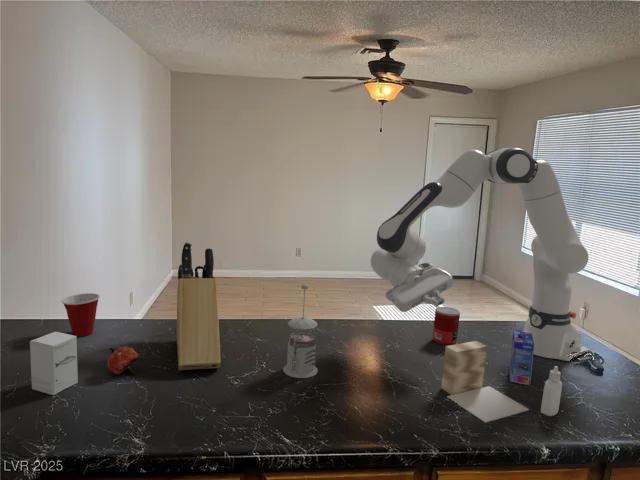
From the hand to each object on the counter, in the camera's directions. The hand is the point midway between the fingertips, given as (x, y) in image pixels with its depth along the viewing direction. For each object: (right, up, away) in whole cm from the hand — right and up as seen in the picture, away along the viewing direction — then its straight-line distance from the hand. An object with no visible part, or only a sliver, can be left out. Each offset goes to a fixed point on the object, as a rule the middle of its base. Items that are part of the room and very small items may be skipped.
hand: (440, 302), depth 139 cm
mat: (+8, -24, -16) cm, 29 cm away
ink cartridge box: (+23, -22, +1) cm, 31 cm away
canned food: (+7, -16, +25) cm, 31 cm away
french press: (-41, -19, -4) cm, 45 cm away
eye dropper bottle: (+23, -25, -18) cm, 38 cm away
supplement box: (-100, -18, -19) cm, 104 cm away
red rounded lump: (-87, -17, -10) cm, 89 cm away
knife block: (-72, -15, +7) cm, 74 cm away
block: (+4, -22, -8) cm, 24 cm away
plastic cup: (-110, -12, +14) cm, 112 cm away
